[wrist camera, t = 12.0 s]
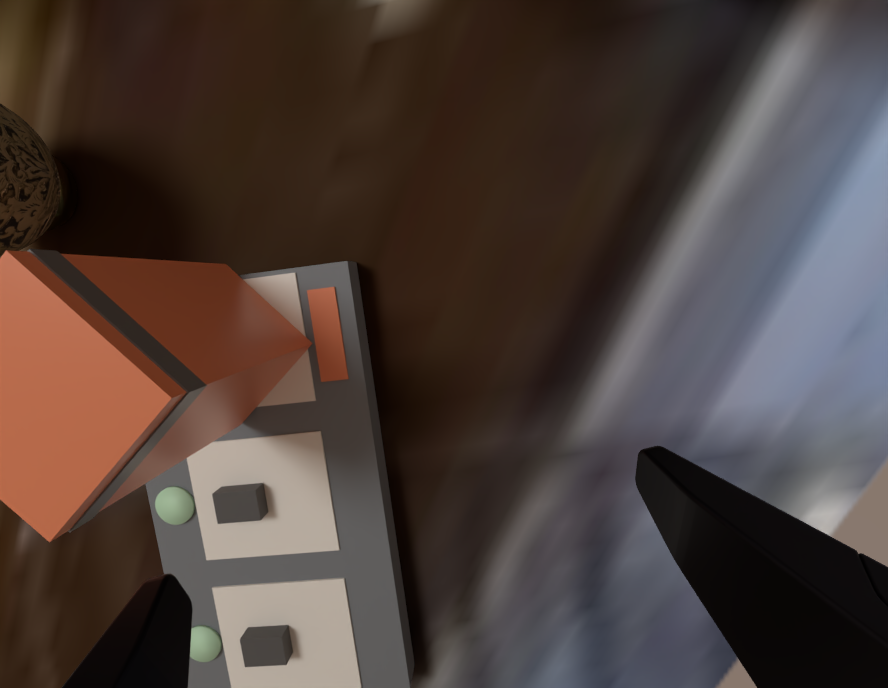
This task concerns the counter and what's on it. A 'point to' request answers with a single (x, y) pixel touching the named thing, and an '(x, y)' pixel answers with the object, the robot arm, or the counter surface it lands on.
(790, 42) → the counter surface
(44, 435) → the block
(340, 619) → the breaker panel
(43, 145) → the cup
